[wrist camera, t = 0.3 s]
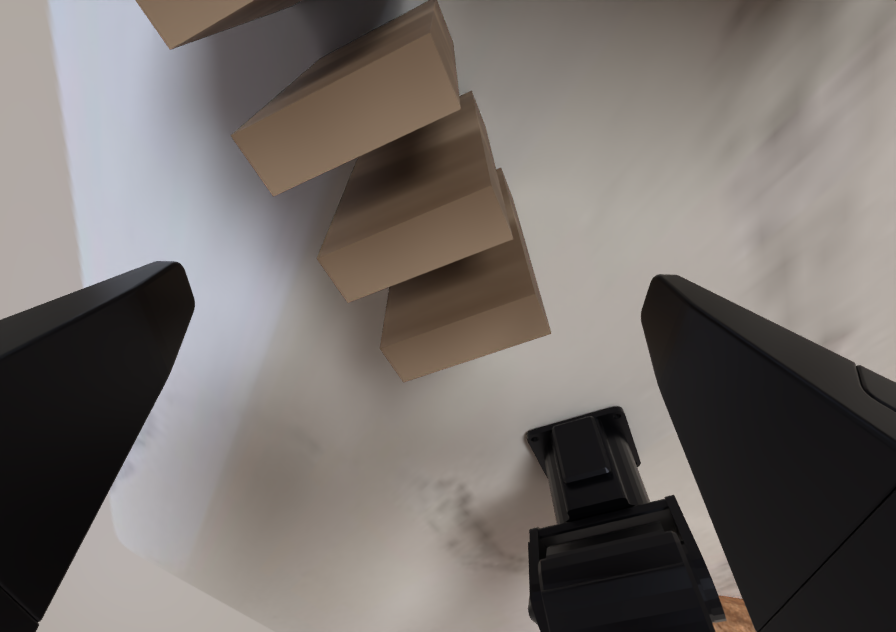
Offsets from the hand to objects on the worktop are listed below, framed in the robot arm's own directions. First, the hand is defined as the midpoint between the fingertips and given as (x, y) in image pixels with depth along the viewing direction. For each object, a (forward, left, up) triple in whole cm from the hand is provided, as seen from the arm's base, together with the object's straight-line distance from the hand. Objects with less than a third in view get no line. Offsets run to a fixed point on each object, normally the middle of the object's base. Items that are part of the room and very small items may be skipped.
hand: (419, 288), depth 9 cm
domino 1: (-4, +1, -14) cm, 14 cm away
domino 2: (-1, +1, -14) cm, 14 cm away
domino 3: (+3, +1, -14) cm, 14 cm away
